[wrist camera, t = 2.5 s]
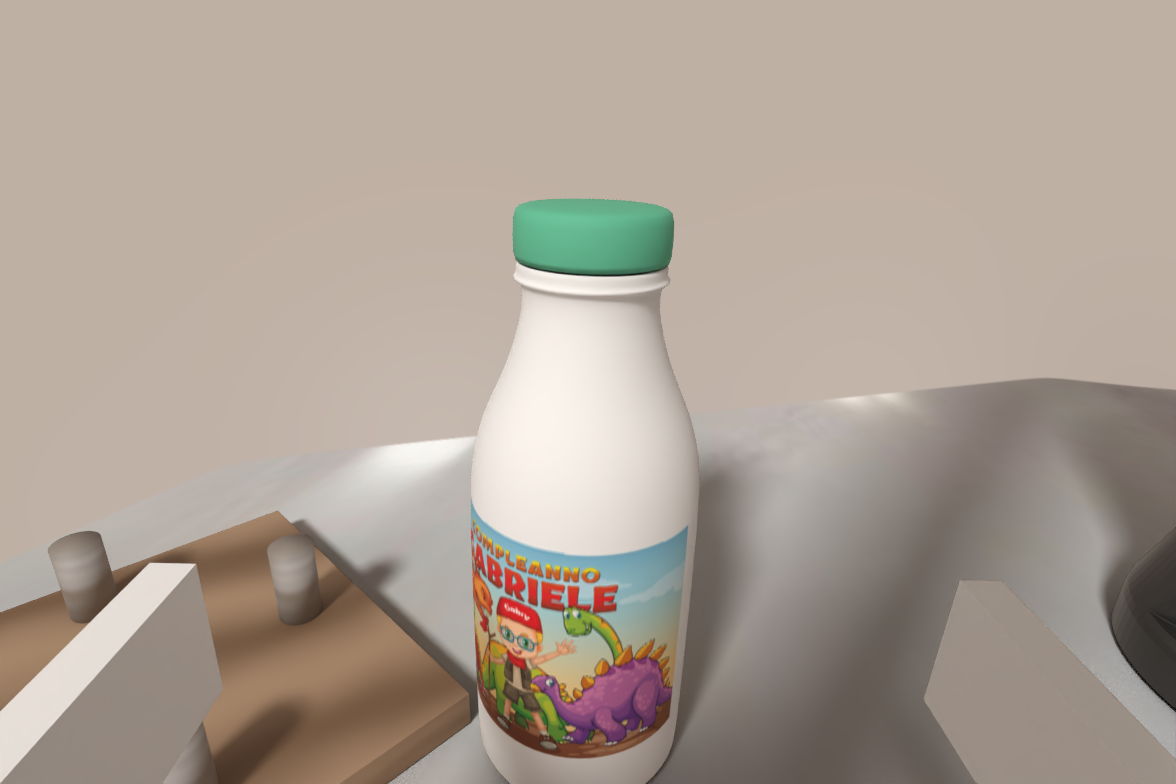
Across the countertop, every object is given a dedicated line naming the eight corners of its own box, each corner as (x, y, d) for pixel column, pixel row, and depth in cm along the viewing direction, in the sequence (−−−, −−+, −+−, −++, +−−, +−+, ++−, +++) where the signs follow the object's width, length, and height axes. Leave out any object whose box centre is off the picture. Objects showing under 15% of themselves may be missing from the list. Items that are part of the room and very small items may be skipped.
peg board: (470, 722, 26) (465, 622, 24) (-238, 1240, 13) (-364, 1118, 11) (281, 533, 37) (268, 455, 35) (-193, 719, 25) (-252, 615, 23)
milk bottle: (523, 634, 30) (518, 187, 23) (688, 674, 28) (742, 199, 21) (443, 781, 23) (399, 208, 16) (654, 848, 21) (717, 229, 14)
